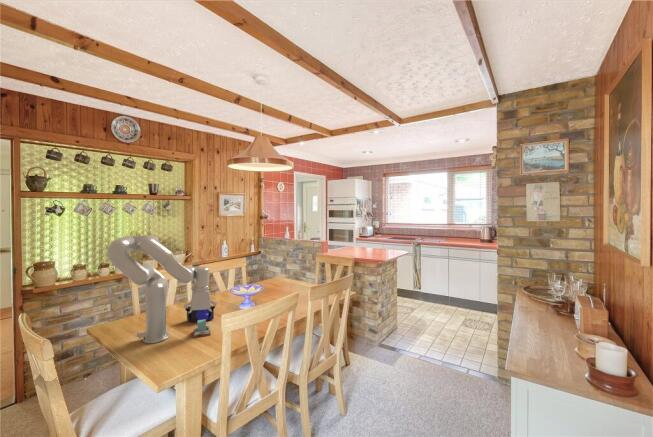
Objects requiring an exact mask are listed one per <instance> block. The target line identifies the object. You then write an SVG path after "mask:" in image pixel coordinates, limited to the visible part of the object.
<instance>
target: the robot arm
mask: <svg viewBox="0 0 653 437" xmlns="http://www.w3.org/2000/svg"><path fill="white" fill-rule="evenodd" d="M130 252H142V253H144V254H145V255H147V256H148V257H149V258H150V259H152V260H154V261H155V262H156V263H158V264H159V265H160V266H161V267H162V269H163V270H165V271H166V272H167V274H168V275H170V276H171V277H173V278H174V279H175V280H177V281H178V282H180V283H182V284H188V283H191V281H193V280H194V285H193V287H191V288H190V289H191V291H192V293H191V299H190V301H189V302H187V303H185V304H184V305H183V307H184V309H185V311H186V313H187V312H188V313H189V318H190V320H191V319H192V311H193V310H205V309H208V310H209V314H208V319H210V317H211V312H212V310H213V309H214V310H215V308H216V306H217V305H218V303H217V302H216V301H213V300H211V291H210V290H209V287H210V285H209V283H210V268H209V267H208V266H191V265H187V266H184V265H182V264H181V263H180V262H179V261H178V260H177V258H176V257H175V254H174V253H173V252H172V251H171V250H170V249H168V248H167V247H166V246H165V245H163V244H162V243H161V242H160V239H159V238H158V236H155V235H152V234H151V235H130V236H129V235H128V236H122V237H119V238H116V239H115V240H113V241H112V242H111V243H110V244H109V245H108V249H107V258H108V260H109V262H110V263H111V264H112V266H114V267H115V268H116V269H118V270H119V272H121V273H122V274H123V275H124V276H125V277H126V278H128V279H129V280H130V281H131V282H132V283H133V284H135V285H137V286H144V285H145V286H146V288H145V290H144V301H145V329H146V330H145V331H143V332H138V333H137V332H136V337H137V338H138V339H140V338H141V339H142V342H143V343H145V344H156V343H161V342H164V341H165V340H167V339H169V338H170V336H171V335H170V333H169V332H168V331H167V301H166V300H167V299H166V292H168V290H169V287H170V283H169V281H168V280H167V278H166V277H165V276H164V275H163V274H161V273H160V272H159V271H158V270H157V269H156V268H155V267H154V266H152V265H149V264H146V263H145V264H141V263H140V262H138V260H137V259H135V258H134V257H133V256H130V254H129V253H130ZM210 305H211V306H212V307H210ZM188 306H191V308H190V309H188V308H187V307H188Z"/></svg>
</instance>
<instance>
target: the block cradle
mask: <svg viewBox="0 0 653 437" xmlns="http://www.w3.org/2000/svg"><path fill="white" fill-rule="evenodd" d="M192 336H193V338H199V337H206V336H211V327H210V324H208V325H207V324H206V331H201V332H198V326H195V327H194V329H193V335H192Z"/></svg>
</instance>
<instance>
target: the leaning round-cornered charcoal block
mask: <svg viewBox="0 0 653 437" xmlns="http://www.w3.org/2000/svg"><path fill="white" fill-rule="evenodd" d="M212 306H213V305H212V304H210V307H212ZM187 308H188V309H190V308H191V305H189V306H187ZM214 310H215V308H214V309H213V310H212V312H211V317H210V319H208V314H209V310H208V309H205V310H193V311H192V319H191V320H190V318H189V313H188V312H187V311H186V321H187V322H191V323H198V320H204V319H206V322H210V321H213V320H214V318H215V317H214V316H215V315H214V314H215V313H214Z"/></svg>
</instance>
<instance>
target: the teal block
mask: <svg viewBox="0 0 653 437" xmlns="http://www.w3.org/2000/svg"><path fill="white" fill-rule="evenodd" d="M206 326H207V321H206V319H204V320H198V322H197V327H198V332H201V331H206Z"/></svg>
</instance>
